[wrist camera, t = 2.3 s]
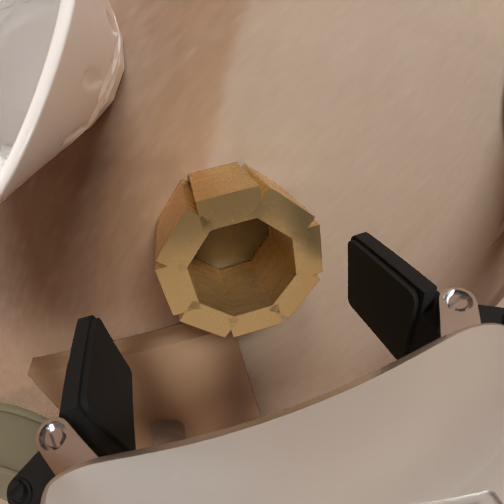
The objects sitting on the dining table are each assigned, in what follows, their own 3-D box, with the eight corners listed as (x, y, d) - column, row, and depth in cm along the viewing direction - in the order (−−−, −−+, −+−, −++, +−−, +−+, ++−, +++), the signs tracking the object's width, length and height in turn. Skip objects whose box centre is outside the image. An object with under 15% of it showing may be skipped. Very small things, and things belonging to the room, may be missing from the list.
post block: (228, 310, 18) (276, 456, 10) (267, 436, 27) (297, 519, 19) (32, 358, 17) (4, 481, 8) (134, 463, 25) (143, 544, 17)
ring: (279, 152, 15) (314, 173, 11) (294, 266, 18) (324, 308, 15) (143, 187, 14) (136, 219, 10) (182, 298, 17) (188, 349, 14)
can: (67, 411, 20) (60, 484, 14) (97, 468, 25) (99, 522, 19) (-42, 390, 16) (-60, 449, 10) (5, 453, 21) (-1, 501, 16)
